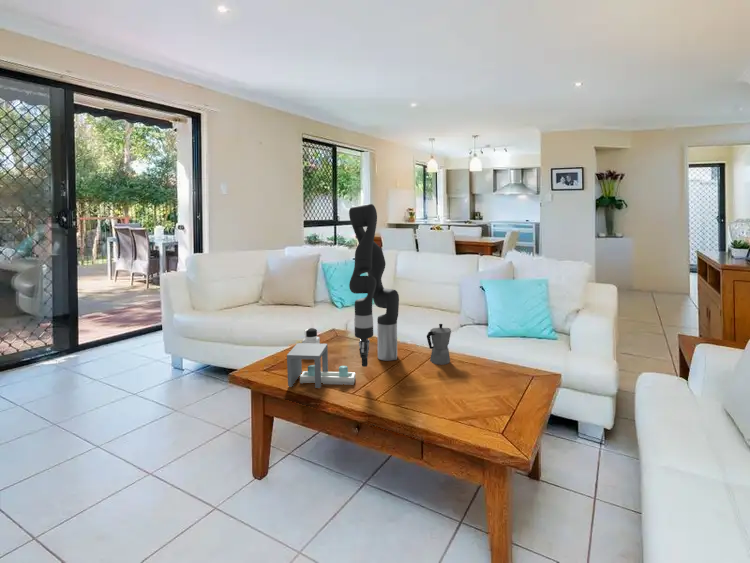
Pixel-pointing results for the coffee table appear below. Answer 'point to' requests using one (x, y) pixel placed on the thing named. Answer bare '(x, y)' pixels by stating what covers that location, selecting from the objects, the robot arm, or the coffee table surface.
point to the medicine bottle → (311, 336)
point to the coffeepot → (439, 345)
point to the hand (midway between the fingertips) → (364, 365)
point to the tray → (329, 376)
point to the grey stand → (307, 352)
